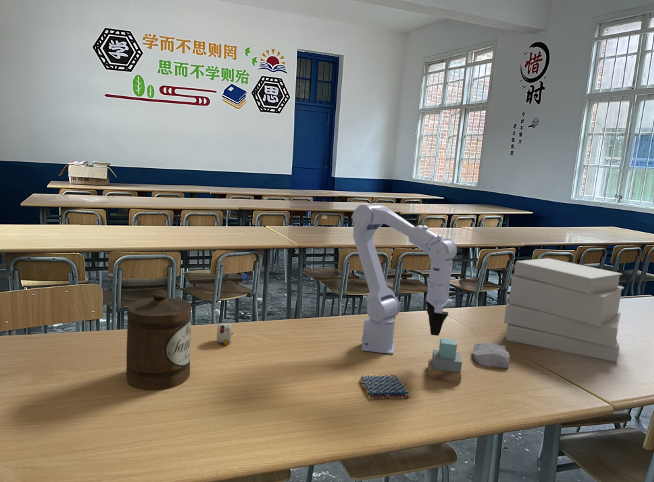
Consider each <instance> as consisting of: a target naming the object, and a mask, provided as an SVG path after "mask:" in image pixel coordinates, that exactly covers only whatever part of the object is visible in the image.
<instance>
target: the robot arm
mask: <svg viewBox="0 0 654 482" xmlns="http://www.w3.org/2000/svg"><path fill="white" fill-rule="evenodd" d="M351 218H352V222H353V232H352V236H353V240H354V244H355V247H356V249H357V250H356V251H357V253H358V256H359V260H360V263H361V267H362V270H363V274H364V277H365V281H366V284H367V287H368V290H369V293H368V294H367V297H366V299H365V300H366V304H367V309H366V312H367V316H368V318H367V317H366V318H364V321H363V327H362V328H363V329H362V336H361V351H364V352H373V353H380V354H381V353H382V354H388V355H389V354H390V355H393V354H394V353H395V344H394V337H395V323H396V319H397V318H396V316H397V315H398V314H399V313H400V311H401V304H400V301H399V300H398V299H397V297H396V295H395V293H394V290H392V289H391V288H390V287H388V284H387V282H386V278H385V274H384V272H383V268H382V264H381V262H380V259H379V255H378V252H377V249H376V245H375V242H374V238H373V237H374V235H375V233H376V232H377V230H378V229H379V228H380V227H381V226H382V225H386V226H388V227H390V228H392V229H394V230H396V231H398V232H400V233H401V234H403V235H405V236H407V238H408V241H409V243H410V244H411V245H414V247H417V248H418V249H420V250H421V251H423V252H424V253H426V254H427V255H428V257H429V259H430V267H429V275H428V276H429V277H428V283H427V285H428V286H427V294H426V295H427V296H426V298H425V303H426V307H427V308H426V312H427V315H428V322H429V323H428V324H429V327H430V328H429V330H430V335H431V336H437V337H439V335H440V333H441V330H442V328H443V325H444V322H445V321H446V319H447V317H448V315H449V312H448V311H443V310H444V308H445V306H446V305H448V304H453V299H451V298H449V295H450V287H451V278H452V277H451V276H452V269H453V268H452V267H453V259H454V258H455V257H456V255H457V252H458V248H457V245H456V243H455V242H454V241H452V239H450V238H443V236H442V235H441V234H438V235H437V234H436V233H434V232H433V231H431V230H429V226H427V225H421V224H420V225H416V226H415V225H413V224H412V223H410V222H409V221H407V220H406V219H404V218H403V217H401V216H400V215H399V214H397V213H396V212H394V211H393V210H392V209H390V208H389V207H386V206H384V205H383V204H381V203H375V204H359V205H358V206H357V207H355V210H353V213H352V215H351Z"/></svg>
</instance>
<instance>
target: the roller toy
mask: <svg viewBox="0 0 654 482" xmlns="http://www.w3.org/2000/svg"><path fill="white" fill-rule="evenodd" d="M232 327H233V325H232V324H231V323H224V322H222V323H221V322H220V323H218V325H217V330H216V331H217V332H216V342H217V343H218V344H224V346H228V344H230V343H232V335H234V332H233V328H232Z"/></svg>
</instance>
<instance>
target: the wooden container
mask: <svg viewBox="0 0 654 482" xmlns="http://www.w3.org/2000/svg"><path fill="white" fill-rule="evenodd" d="M151 294H152V297H150V298H145V299H144V298H143V299H139V300H135V301H133V302H132V303H130V304H129V305H128V306H127V311H126V312H127V314H126V315H127V316H126V317H127V318H126V319H127V322H126V324H127V327H126V329H127V331H126V353H125V354H126V358H125V359H126V361H125V362H126V365H125V366H126V376H125V377H126V382H127V383H128V384H129V385H130V386H132V387H134V388H138V389H142V390H149V391H151V390H152V391H153V390H163V389H164V390H165V389H169V388H173V387H175V386H179V385H181V384H183V383H184V382H186V381H188V378H190V375H191V374H190V373H191V350H192V349H191V346H192V343H191V340H192V338H191V336H192V335H191V334H192V333H191V332H192V330H191V329H192V328H191V327H192V325H191V323H192V322H191V319H192V304H191V302H189V301H187V300H185V299H181V298H176V297H167V296H168V293H167V291H166V290H165V289H156V290H155V291H153V293H151Z"/></svg>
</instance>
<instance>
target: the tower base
mask: <svg viewBox="0 0 654 482" xmlns="http://www.w3.org/2000/svg"><path fill="white" fill-rule="evenodd" d="M427 364H428V365H427V369H428V378H429V380H433V381H434V380H435V381H439V382H440V381H441V382H449V383H456V384H461V380H462V372H461V373H457V372H449V371H440V370H434V369H433V362H432V358H428V362H427Z"/></svg>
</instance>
